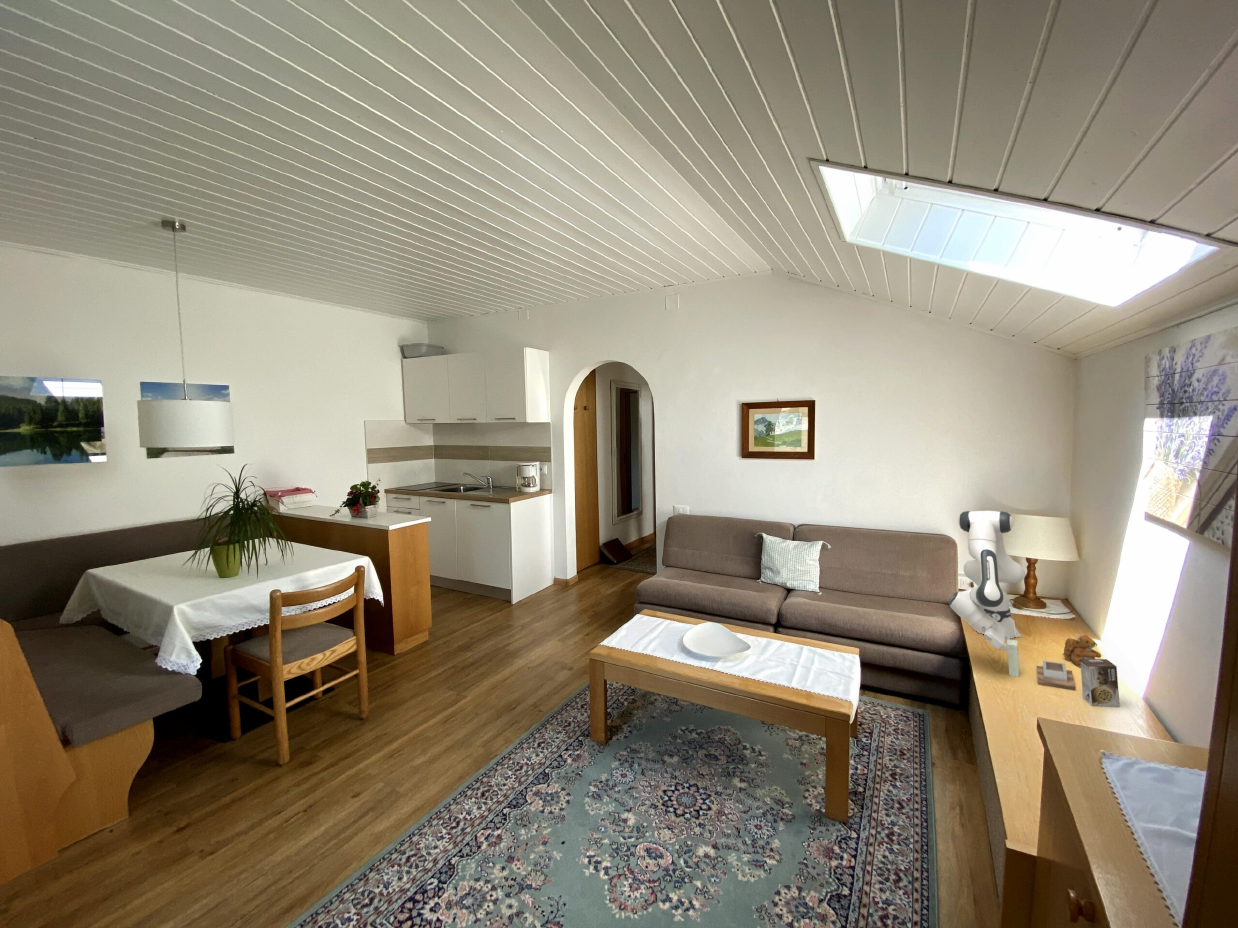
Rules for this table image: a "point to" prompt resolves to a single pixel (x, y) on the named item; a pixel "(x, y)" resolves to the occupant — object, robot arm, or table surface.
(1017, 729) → the table surface
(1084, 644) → the stuffed squirrel
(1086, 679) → the coffee box
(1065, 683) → the wooden base with socket
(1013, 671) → the pale green rectangular block
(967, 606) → the robot arm
